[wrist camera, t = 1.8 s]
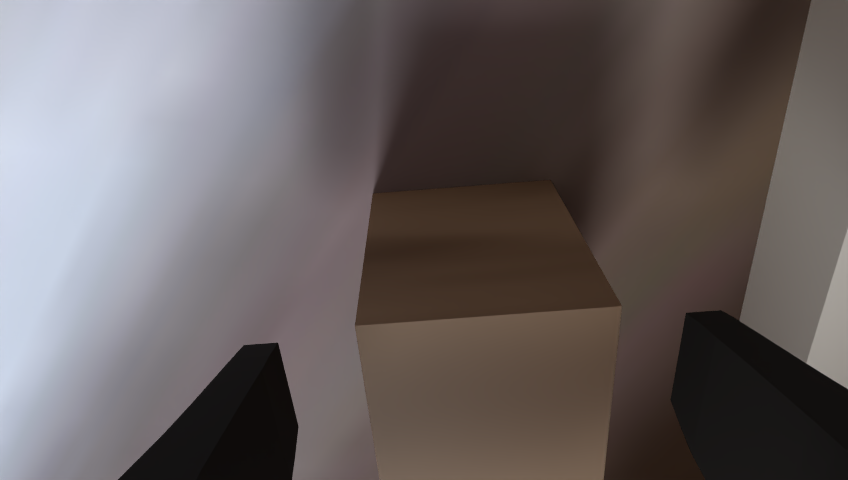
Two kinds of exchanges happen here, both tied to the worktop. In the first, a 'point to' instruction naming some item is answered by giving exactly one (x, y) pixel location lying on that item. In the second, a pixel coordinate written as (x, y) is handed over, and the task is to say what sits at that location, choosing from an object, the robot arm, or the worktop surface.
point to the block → (485, 336)
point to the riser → (809, 208)
